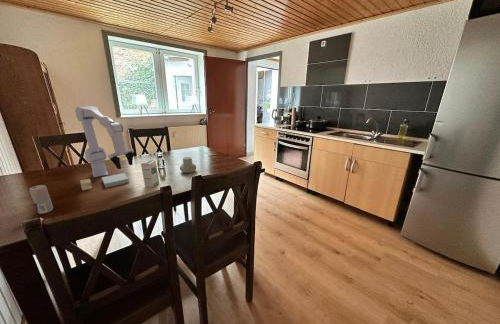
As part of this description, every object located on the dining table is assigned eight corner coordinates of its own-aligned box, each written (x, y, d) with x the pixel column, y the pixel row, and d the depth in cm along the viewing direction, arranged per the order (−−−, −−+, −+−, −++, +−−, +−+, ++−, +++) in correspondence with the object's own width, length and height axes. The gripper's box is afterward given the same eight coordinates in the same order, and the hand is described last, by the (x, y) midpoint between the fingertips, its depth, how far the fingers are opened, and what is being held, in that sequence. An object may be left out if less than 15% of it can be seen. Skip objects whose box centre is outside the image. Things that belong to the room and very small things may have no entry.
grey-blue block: (103, 181, 125) (102, 177, 125) (125, 177, 133) (124, 172, 132) (105, 188, 117) (104, 183, 116) (129, 183, 124) (128, 178, 123)
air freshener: (185, 175, 136) (184, 161, 133) (178, 172, 141) (176, 158, 137) (198, 170, 144) (197, 157, 141) (191, 168, 149) (190, 155, 146)
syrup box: (153, 187, 118) (149, 163, 114) (144, 186, 119) (140, 162, 115) (159, 183, 123) (156, 160, 119) (150, 182, 125) (147, 159, 120)
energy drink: (44, 208, 96) (36, 184, 92) (56, 207, 96) (49, 184, 92) (34, 214, 90) (24, 190, 87) (47, 213, 91) (38, 189, 87)
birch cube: (82, 187, 116) (80, 180, 115) (91, 185, 119) (90, 178, 118) (82, 190, 113) (80, 183, 112) (92, 188, 116) (90, 181, 114)
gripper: (111, 146, 109) (118, 170, 112) (135, 141, 122) (140, 163, 125) (103, 147, 111) (109, 170, 115) (126, 141, 124) (132, 163, 128)
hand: (125, 166), depth 120 cm, fingers open, 7 cm apart
